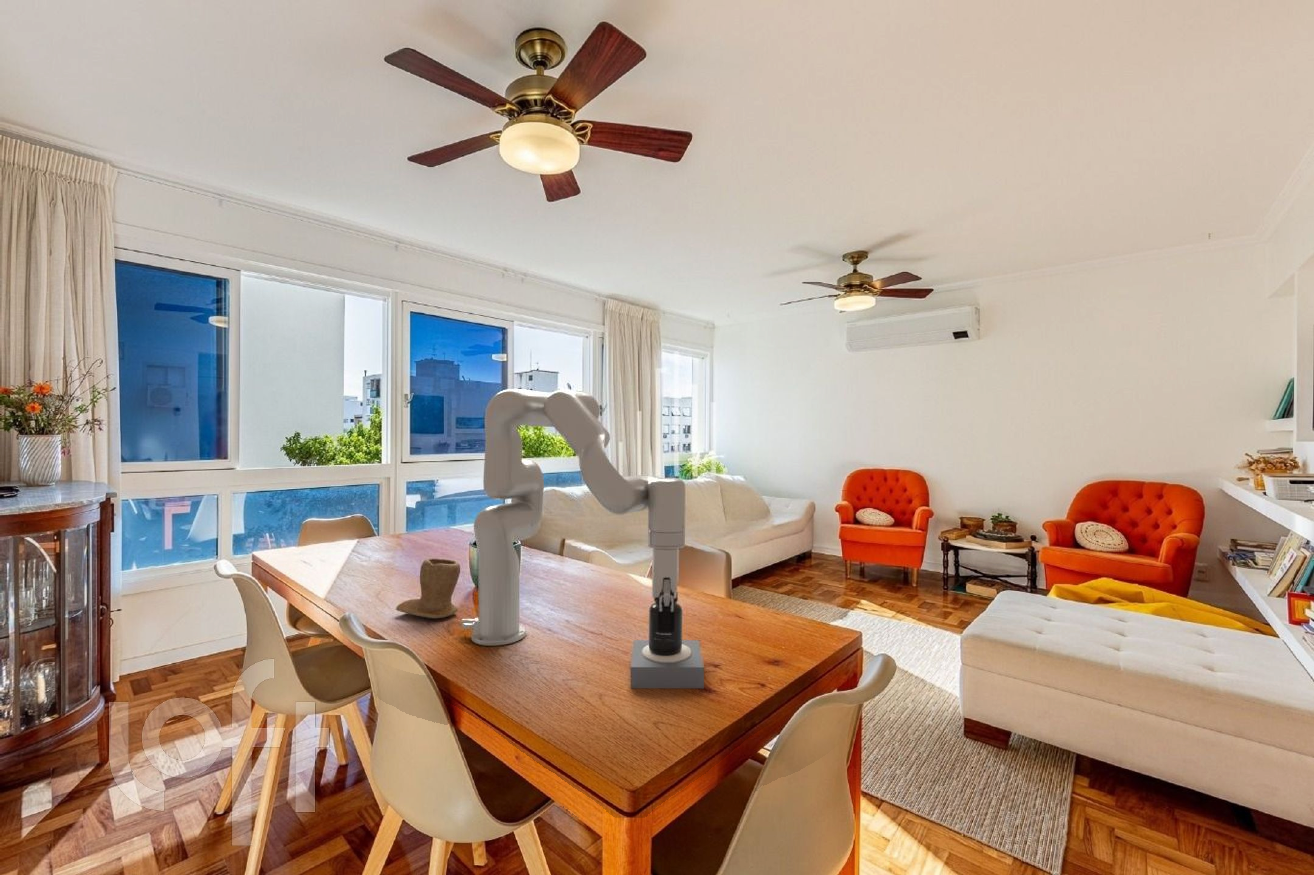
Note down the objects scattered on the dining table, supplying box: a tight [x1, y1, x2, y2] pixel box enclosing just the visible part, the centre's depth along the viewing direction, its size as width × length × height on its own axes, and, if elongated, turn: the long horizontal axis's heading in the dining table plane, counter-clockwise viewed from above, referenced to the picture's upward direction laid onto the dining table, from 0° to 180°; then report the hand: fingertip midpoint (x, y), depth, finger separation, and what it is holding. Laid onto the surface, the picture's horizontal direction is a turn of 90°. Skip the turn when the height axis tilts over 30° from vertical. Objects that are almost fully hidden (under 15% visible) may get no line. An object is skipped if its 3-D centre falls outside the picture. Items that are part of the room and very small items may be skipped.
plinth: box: [630, 639, 705, 689], centre depth 111 cm, size 14×14×4 cm
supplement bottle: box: [648, 591, 683, 656], centre depth 111 cm, size 7×7×12 cm
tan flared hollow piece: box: [395, 557, 461, 619], centre depth 148 cm, size 15×12×15 cm
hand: (665, 622), depth 111 cm, fingers open, 9 cm apart
